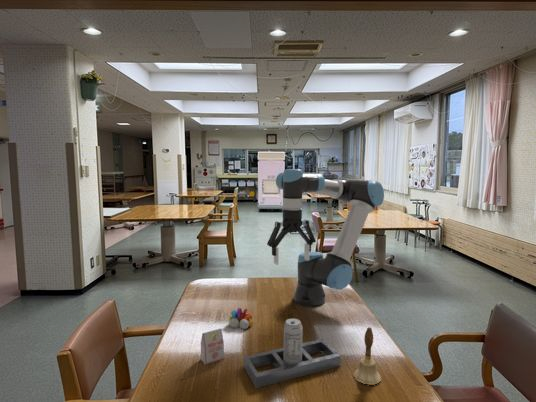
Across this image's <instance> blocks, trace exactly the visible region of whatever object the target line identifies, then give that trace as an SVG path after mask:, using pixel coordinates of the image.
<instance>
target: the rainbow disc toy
mask: <svg viewBox="0 0 536 402" xmlns="http://www.w3.org/2000/svg"><path fill="white" fill-rule="evenodd" d="M230 314H231V316H230V317H229V326H230V327H231V328H232V329H236V328H238V327H240V328H241V329H242V330H246V329H248V328H249V327H250V326H252V324H253V323H254V322H253V321H254V319H253V318H254V317H253V313H252V312H249V313H248V309H247V308H244V310H242V308H241V307H238V308H237V310H231V313H230Z"/></svg>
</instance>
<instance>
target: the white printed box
mask: <svg viewBox="0 0 536 402" xmlns="http://www.w3.org/2000/svg"><path fill="white" fill-rule="evenodd" d="M200 339H201V340H200V360H201V362H203V365H205V366H206V365H209V364H212V363H215V362H219V361H221V360H224V359H225V343H224V342H225V341H224V337H223V329H222V328H218V329H214V330H210V331H206V332H202V335H201V338H200Z"/></svg>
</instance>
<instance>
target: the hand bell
mask: <svg viewBox="0 0 536 402" xmlns="http://www.w3.org/2000/svg"><path fill="white" fill-rule="evenodd" d="M373 344H374V334H373V329H372V327H369V326H368V327H367V329H366V330H365V332H364V345H365V354H364V355H365V356H364V357H361V359H360V361H359V366H358V368H357V369H356V370H355V371H354V373H353V378H354V377H355V378H354V380H355V381H357V382H358V381H359V382H361V383H363V384H362V385H364V384H377V383H379V382H380V381H381V382H382V376H381V375H380V373H379V372H378V371H377V367H376V361H375V360H374V359H373V358H372V346H373ZM359 382H358V383H359ZM381 382H380V383H381ZM361 383H360V384H361ZM380 383H379V384H380ZM377 385H378V384H377Z"/></svg>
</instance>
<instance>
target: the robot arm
mask: <svg viewBox="0 0 536 402" xmlns="http://www.w3.org/2000/svg"><path fill="white" fill-rule="evenodd" d="M275 184H276V187H277V188H278V189H279V190H282V208H283V209H282V222H279V221H275V222H274V228H273V229H272V233H271V234H270V236H269V238H268V240H267V243H266V245H267V246H268V247H270V248H271V255H272V256H273V264H275V265H279V247H278V246H279V245H280V243H281V242H282V240H283V239H284V238H285V237H286V236H287V235H288V234H293V233H298V234H299V235H300V237H301V238H302V239H303V240H304V241H305V242H306V243H304V247H303V248H304V252H302V253H300V254H299V255H298V257H297V285H296V287H295V290H294V293H293V300H294V302H295V303H297V304H298V305H301V306H306V307H316V306H317V307H318V306H321V305H324V304H325V303H326V294H325V290H324V287H323V286H325V287H328V288H329V289H334V290H339V291H341V290H343V289H345V288H347V287H348V286H349V284H350V283H351V281H352V279H353V273H354V270H353V268H352V261H351V257H352V255H353V253H354V250H355V247H356V245H357V243H358V240H359V238H360V236H361V233H362V230H363V227H364V226H365V222H366V220H367V218H368V216H369V214H371V213H372V212H374V210H375V207H380V206H381V205H383V203H384V201H385V200H384V199H385V191H384V187H383V185H382V183H380V182H379V181H377V180H372V179H369V180H364V179H337V178H336V179H332V180H331V179H326V178H325V177H324V176H323V175H322V174H321V173H304V172H303V169H302V168H301V169H300V168H287V169H286V168H285V169H284V170H283V172H280V173H279V174H278V175H276V178H275ZM304 193H308V194H312V195H313V194H314V195H322V196H329V197H330V198H331V199H334V200H339V201H343V202H346V203H349V204H350V208H349V210H348V213H347V215H346V217H345V220H344V222H343V224H342V227H341V229H340V231H339V234H338V236H337V237H336V238H337V239H336V240H335V243H334V245H333V247H332V250H331V251H329V252H327V253H326V256H325V257H324V255H323V253H322V252H321V251H312V245H313V244H314V243H316V242H317V241H316V238H315V236H314V234H313V231H312V229H311V227H310V220H307V219H303V210H302V208H303V194H304ZM302 226H303V228H304V229H305V231H306V233H305V231H304V229H302V228H301V227H302ZM281 228H282V229H281ZM280 229H281V230H280ZM307 235H308V236H307Z"/></svg>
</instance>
